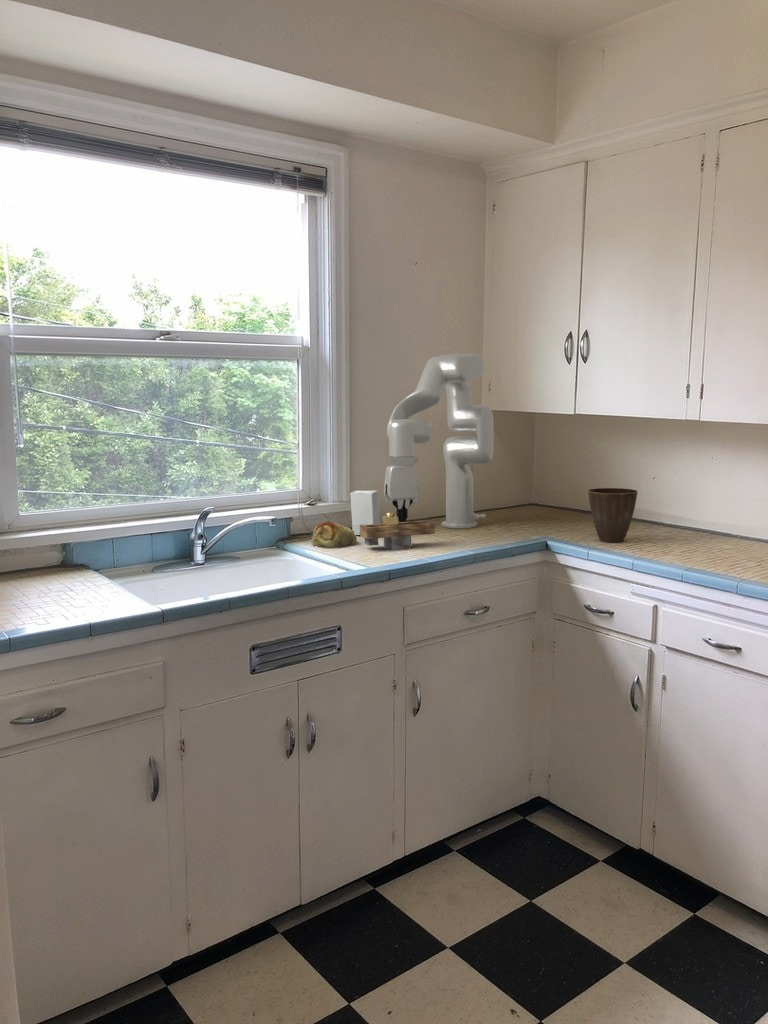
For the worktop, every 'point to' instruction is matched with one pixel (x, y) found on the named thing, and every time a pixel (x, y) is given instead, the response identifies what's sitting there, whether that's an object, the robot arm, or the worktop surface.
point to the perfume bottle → (390, 519)
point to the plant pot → (612, 512)
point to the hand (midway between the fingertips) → (402, 521)
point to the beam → (396, 533)
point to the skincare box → (364, 509)
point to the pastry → (332, 535)
